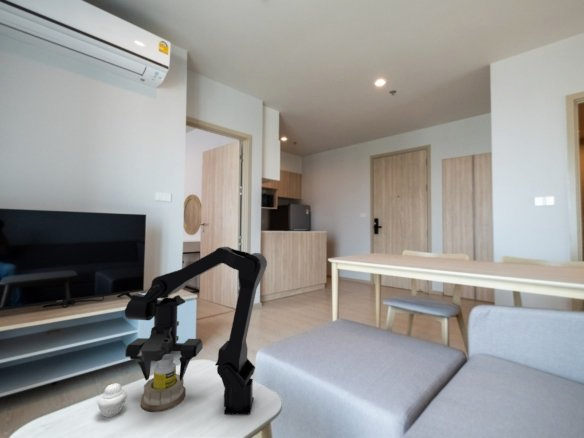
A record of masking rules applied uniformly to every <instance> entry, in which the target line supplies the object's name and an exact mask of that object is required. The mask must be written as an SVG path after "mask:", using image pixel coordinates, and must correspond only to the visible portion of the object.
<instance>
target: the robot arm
mask: <svg viewBox="0 0 584 438" xmlns="http://www.w3.org/2000/svg"><path fill="white" fill-rule="evenodd" d="M222 264H224V265H226V266H227V267H229V268H231V269H233V270H236V271H238V272H237V273H238V274H237V275H238V276H237V277H238V278H237V279H238V282H239V291H238V295H237V301H236V305H235V310H234V314H233V318H232V319H233V320H232V323H231V329H230V330H231V331H230V334H229V339H228V340H226V342H225V343H224V344H223V345H222V346H221V347H220V348H219V349H218V354H217V361H216V363H215V366H217V367H216V372H217V375H219V378H221V382H222V384H223V388H224V391H223V393H224V394H223V408H224V412H223V414H224V415H248V416H249V415H251V413H252V409H253V403H254V400H255V399H254V398H255V397H253V391H254V389H253V387H254V386H253V385H254V384H253V383H254V379H253V378H252V376H253V375H254V373H255V370H256V366H255V364H253V363H252V362H251V361H250V359H249V358H248V344H247V337H248V333H249V327H250V321H251V318H252V313H253V307H254V303H255V298H256V293H257V289H258V287H259V284H260V282H261V281H262V279H263V276H264V275H265V272H266V269H267V266H268V261H267V259H266V257H265V255H264V254H262V253H260V252H253V253H249V252H247V251H243V250H237V249H234V248H231V247H230V246H221V247H218V248H216V249H215V250H214V251H212V252H210V253H209V254H207V255H204V256H202V257H200V258H199V259H198V260H194V261H193V262H191V263H189V264H188V265H186V266H184V267H183V268H182V267H181V269H178V270H175V271H172V272H167V273H165V274H162V275H159V276H156V277H154V278H153V279H152V280H151V285H150V288H149V289H148V290H147V291H146V292H145V294H142V293H135V294H131V296H130V297H131V298H130V300H129V301H128V303H127V304H126V307H125V308H124V315H125V318H126V319H127V320H136V321H151V320H152V319H153V327H151V329H150V335H149V338H147V337H145V338H144V337H143V338H139V337H138V338H136V339H135V340H133V341H131V342H130V343H129V344H127V345H126V347H125V351H124V356H125V357H126V358H129V359H130V360H131V361H132V360H133V361H135V362H136V363H138V365H139V368H140V369H141V372H142V374H143V377H144V380H145V381H149V380H150V375H151V365H152V361H154V362H157V361H160V360H161V359H162V358H163V356H164V355H165V354H171V352H180V353H179V354H180V357H179V358H178V360H179V363H180V368H179V375H180V381H182V379H183V380H184V377H185V374H186V371H187V368H188V366H189V364H190V361H191V360H192V359H193V358H196V357H197V355H199V353H201V351H202V350H203V344H204V343H203V341H202V339H201V338H188V339H187V340H185V341H184V342H181V343H179V342H178V341H179V340H180V339H179V336H178V326H179V325H180V321H178V306H182V305H183V304H185V303H186V300H185V299H184V298H182V297H181V296H180V294H177V293H179V292H180V291H181V290H182V289H184V288H185V287H186V286H187V285H188V284H189V283H190V282H191V281H192V280H194V279H196V278H198V277H200V276H201V275H203V274H205V273H208V272H209V271H211V270H212V269H215V268H216V267H218V266H220V265H222ZM174 294H177V295H176V296H173V297H169V296H171V295H174ZM177 342H178V343H177Z"/></svg>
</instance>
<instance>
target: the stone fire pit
mask: <svg viewBox="0 0 584 438" xmlns="http://www.w3.org/2000/svg"><path fill="white" fill-rule="evenodd" d="M184 381H185V380H184V378H183V379H182V381H180V374H179V373H176V379H175V385H173V386H171V387H170V388H166V389H162V390H155V389H153V383H154V377H153V378H151V379H150V378H149V379H148V380H147V382H145V383H144V385H143V394H142V395H141V397H140V408H141V409H142V410H144V411H145V412H148V413H160V412H164V411H167V410H171V409H173V408H175V407H177V406H179V405H180V404H181V403H182V402H184V401H185V398H186V395H187V394H186V393H187V392H186V391H187V389H186V387H185V386H184V384H185V383H184Z"/></svg>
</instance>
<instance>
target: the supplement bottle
mask: <svg viewBox="0 0 584 438" xmlns="http://www.w3.org/2000/svg"><path fill="white" fill-rule="evenodd" d="M156 362H157V365H156V366H155V367H154V369H153V378H154V383H153V389H155V390H162V389H166V388H170V387H171V386H173V385H175V379H176V374H177V366H176V363H174V354H171V353H170V354H165V355H164V356H163V358H162V359H161V360H160V361H156Z"/></svg>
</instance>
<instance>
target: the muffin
mask: <svg viewBox="0 0 584 438" xmlns="http://www.w3.org/2000/svg"><path fill="white" fill-rule="evenodd" d="M127 396H128V394H127V391H126V390H125V389H123V388H122V385H121V384H120V383H116V382H115V383H112V384H109V385H107V386H106V387H105V388H104V391H103V393H102V394H101V396H99V398H98V400H97V403H96V404H97V407H98V410H100V412H101V414H102V415H103V416H104V418H105V417H106V418H111V417H115V416H117V415H118V414H119V413H120V412H121V410H122V408H123V405H124V404H125V402H126V399H127V398H128V397H127Z"/></svg>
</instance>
